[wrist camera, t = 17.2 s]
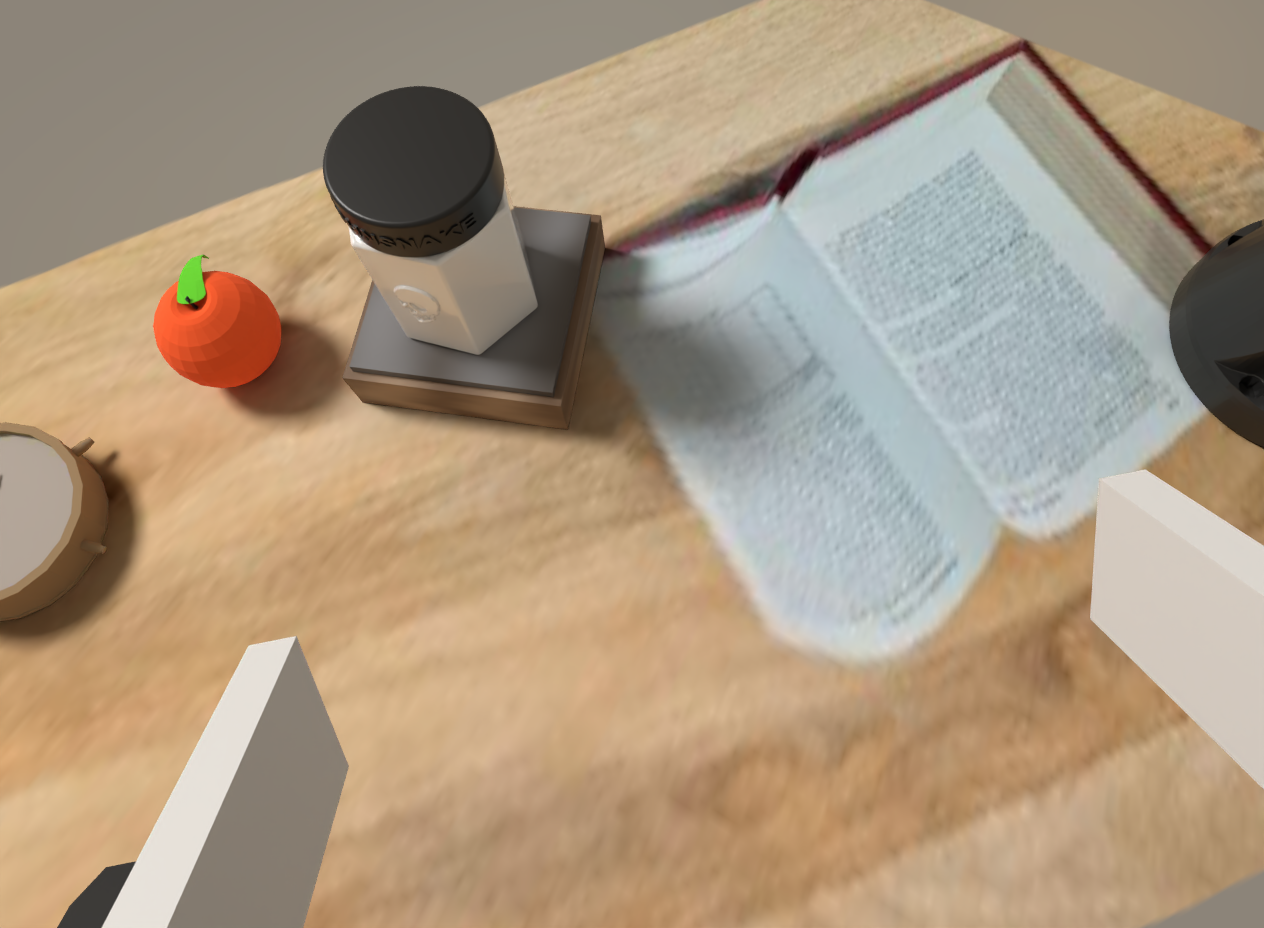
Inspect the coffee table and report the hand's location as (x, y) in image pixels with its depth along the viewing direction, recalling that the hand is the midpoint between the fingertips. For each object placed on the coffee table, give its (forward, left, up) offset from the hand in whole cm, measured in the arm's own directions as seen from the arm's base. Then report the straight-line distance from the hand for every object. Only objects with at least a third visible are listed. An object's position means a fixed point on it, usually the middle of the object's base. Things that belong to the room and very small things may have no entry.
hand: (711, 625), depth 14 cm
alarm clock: (+43, -5, -34) cm, 55 cm away
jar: (+17, -23, -30) cm, 41 cm away
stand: (+16, -23, -34) cm, 44 cm away
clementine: (+31, -19, -34) cm, 50 cm away
